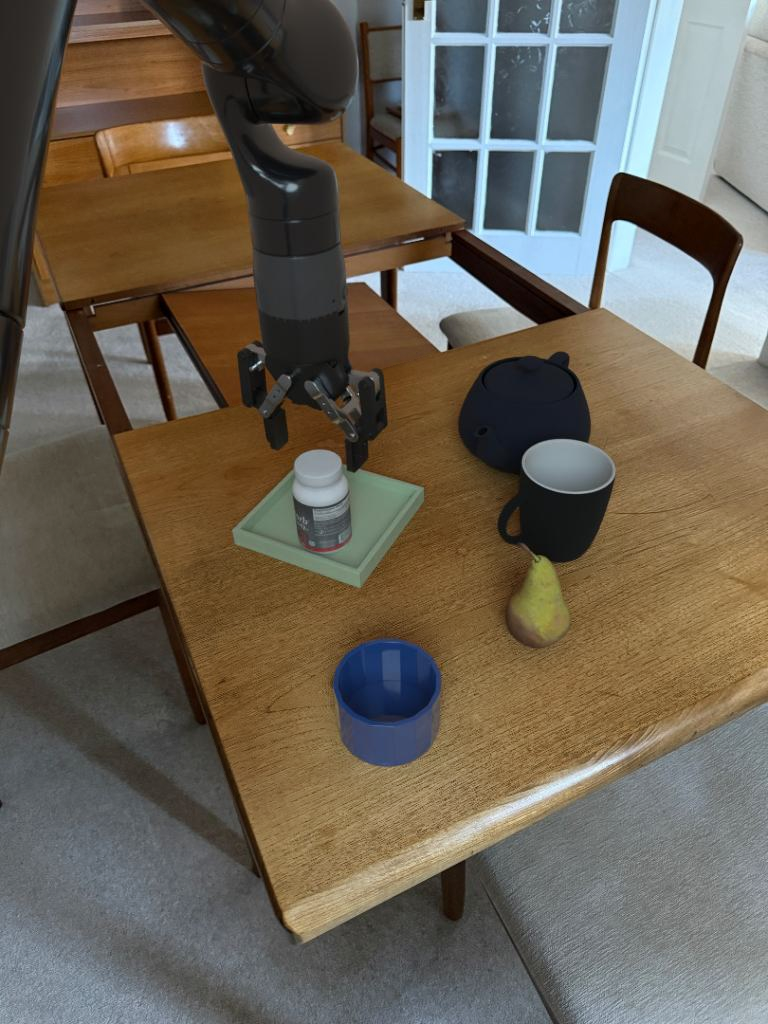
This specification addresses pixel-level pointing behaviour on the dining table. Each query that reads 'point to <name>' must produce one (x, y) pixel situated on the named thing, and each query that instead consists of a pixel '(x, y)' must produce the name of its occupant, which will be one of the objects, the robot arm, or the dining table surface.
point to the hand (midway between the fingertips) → (317, 456)
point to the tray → (374, 522)
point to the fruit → (538, 606)
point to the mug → (560, 498)
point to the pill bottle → (321, 502)
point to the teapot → (522, 409)
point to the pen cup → (387, 701)
